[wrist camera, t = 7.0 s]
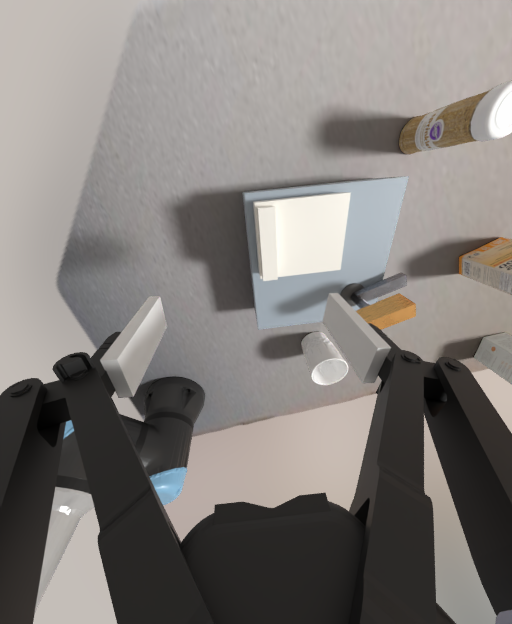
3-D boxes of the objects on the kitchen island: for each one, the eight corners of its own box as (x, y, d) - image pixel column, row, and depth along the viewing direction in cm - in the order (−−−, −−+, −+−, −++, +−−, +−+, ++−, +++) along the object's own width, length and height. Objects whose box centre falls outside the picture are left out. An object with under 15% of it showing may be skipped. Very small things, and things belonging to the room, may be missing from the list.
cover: (259, 273, 32) (262, 284, 29) (253, 201, 27) (255, 203, 23) (334, 265, 33) (346, 274, 29) (342, 192, 27) (359, 192, 24)
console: (254, 307, 45) (258, 330, 38) (242, 192, 34) (244, 193, 26) (352, 296, 46) (374, 316, 39) (374, 178, 34) (410, 176, 27)
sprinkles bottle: (394, 130, 31) (487, 97, 20) (425, 108, 30) (542, 60, 19) (401, 161, 33) (488, 148, 22) (429, 142, 32) (536, 118, 21)
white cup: (292, 341, 51) (304, 372, 43) (319, 323, 49) (337, 352, 40) (308, 358, 55) (322, 390, 46) (334, 342, 53) (354, 372, 44)
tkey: (327, 302, 36) (349, 329, 29) (400, 271, 34) (442, 293, 27) (330, 311, 37) (352, 340, 30) (401, 282, 35) (441, 306, 28)
